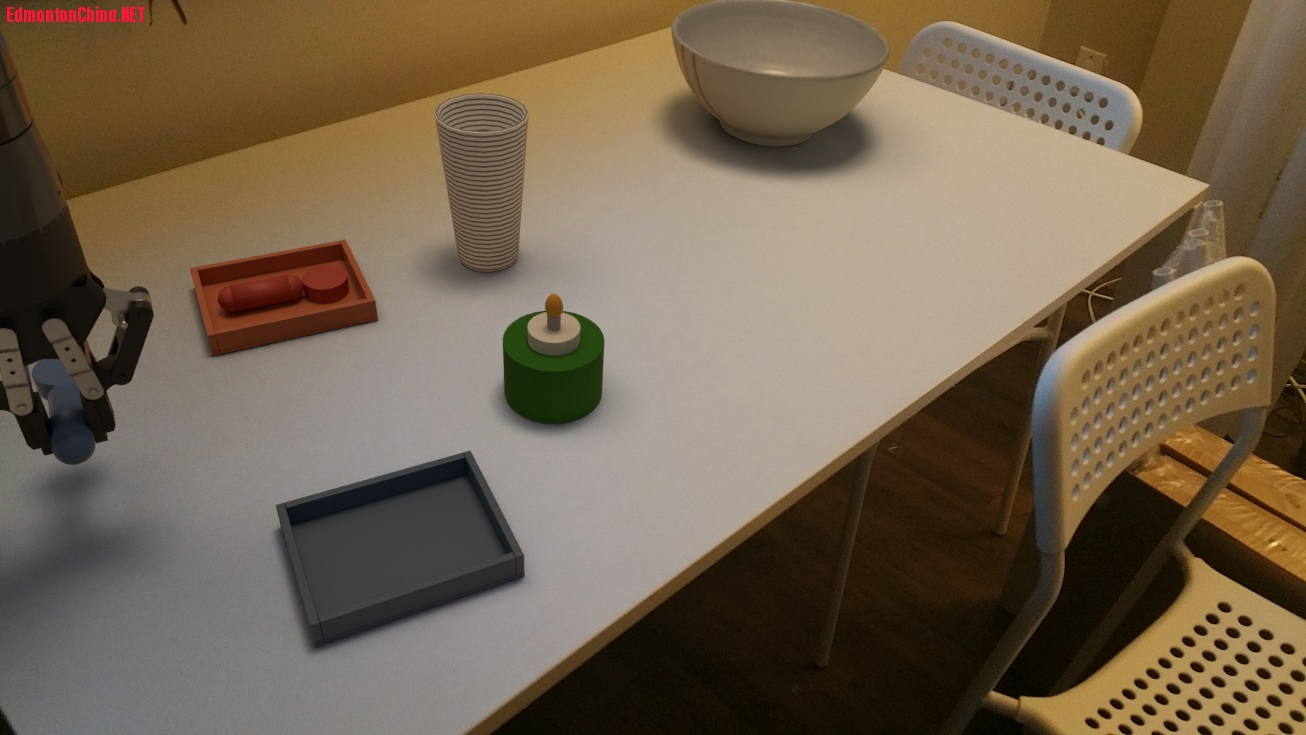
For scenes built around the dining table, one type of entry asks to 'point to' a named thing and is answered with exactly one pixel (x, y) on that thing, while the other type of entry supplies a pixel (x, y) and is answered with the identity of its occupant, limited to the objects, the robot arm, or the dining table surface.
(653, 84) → the dining table surface
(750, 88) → the decorative bowl
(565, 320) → the candle
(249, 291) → the red spoon
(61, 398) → the blue spoon
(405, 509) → the dark grey tray
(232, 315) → the red tray
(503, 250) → the cup
